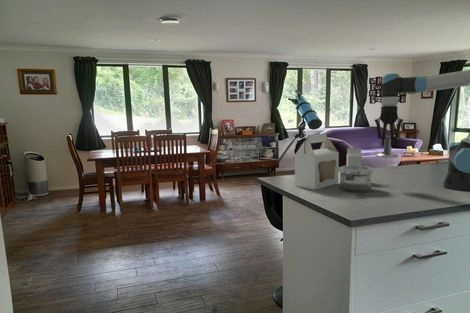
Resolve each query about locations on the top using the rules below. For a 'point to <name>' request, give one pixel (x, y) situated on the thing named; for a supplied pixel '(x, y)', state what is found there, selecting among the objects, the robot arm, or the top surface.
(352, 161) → the milk carton
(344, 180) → the pot
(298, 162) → the gable box
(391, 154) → the lid
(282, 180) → the top surface
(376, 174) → the top surface
